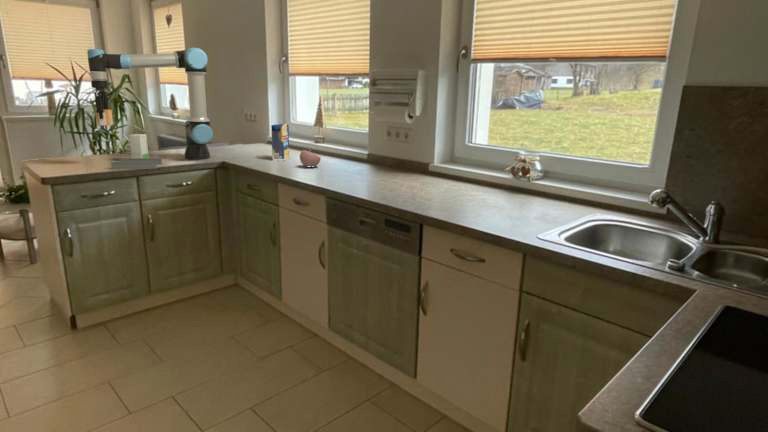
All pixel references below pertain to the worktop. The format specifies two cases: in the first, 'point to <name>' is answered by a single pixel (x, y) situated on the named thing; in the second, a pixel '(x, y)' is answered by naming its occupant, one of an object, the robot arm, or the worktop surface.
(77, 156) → the worktop surface
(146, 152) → the skincare box
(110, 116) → the orange block
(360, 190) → the worktop surface
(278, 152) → the beverage box
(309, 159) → the reddish-brown rounded lump
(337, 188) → the worktop surface
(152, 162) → the channel
